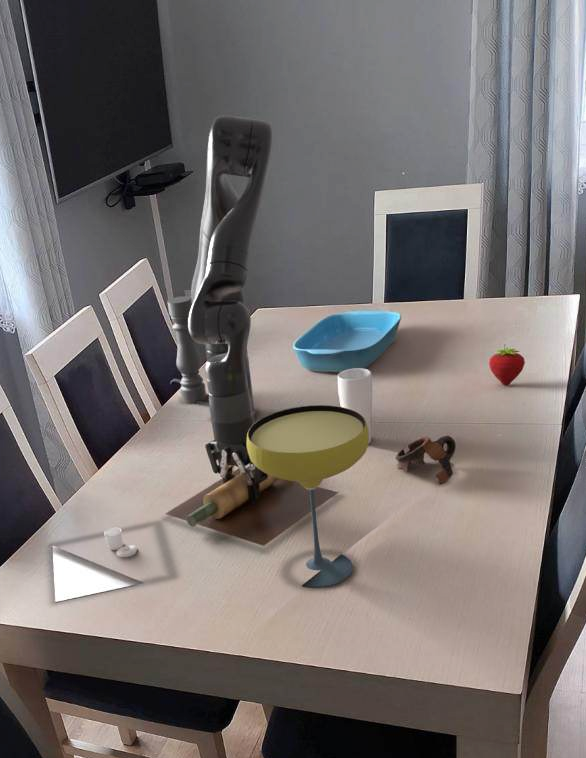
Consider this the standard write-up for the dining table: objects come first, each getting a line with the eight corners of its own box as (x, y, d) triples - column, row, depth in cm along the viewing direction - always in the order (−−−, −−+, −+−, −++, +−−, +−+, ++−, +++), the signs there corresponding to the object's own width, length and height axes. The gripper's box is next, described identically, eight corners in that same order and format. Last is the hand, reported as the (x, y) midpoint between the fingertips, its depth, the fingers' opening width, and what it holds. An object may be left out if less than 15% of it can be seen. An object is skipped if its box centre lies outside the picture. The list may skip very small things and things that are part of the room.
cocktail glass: (265, 545, 151) (248, 411, 139) (371, 537, 148) (363, 399, 135) (261, 604, 135) (242, 459, 123) (380, 597, 132) (372, 447, 120)
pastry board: (166, 519, 165) (165, 513, 164) (241, 472, 177) (240, 467, 177) (264, 551, 149) (263, 545, 148) (338, 497, 162) (338, 491, 161)
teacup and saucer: (142, 559, 153) (138, 539, 151) (97, 568, 152) (93, 549, 150) (136, 536, 161) (132, 517, 159) (94, 545, 160) (89, 526, 158)
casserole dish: (333, 332, 248) (331, 307, 244) (411, 332, 237) (410, 306, 233) (283, 379, 221) (280, 351, 217) (368, 381, 210) (367, 353, 206)
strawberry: (520, 391, 191) (522, 347, 186) (485, 389, 195) (486, 346, 190) (526, 381, 195) (528, 338, 190) (492, 380, 199) (493, 337, 194)
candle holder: (178, 403, 217) (162, 304, 205) (187, 394, 222) (172, 296, 210) (201, 403, 215) (186, 303, 202) (210, 394, 219) (196, 295, 207)
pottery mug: (434, 494, 158) (410, 456, 157) (404, 498, 167) (381, 463, 166) (477, 456, 162) (454, 419, 160) (445, 462, 171) (423, 428, 169)
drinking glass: (374, 448, 178) (371, 378, 170) (340, 450, 179) (336, 381, 172) (375, 434, 183) (371, 366, 176) (342, 436, 185) (338, 369, 178)
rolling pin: (182, 529, 157) (178, 505, 155) (279, 467, 173) (276, 445, 171) (203, 536, 154) (199, 512, 152) (299, 472, 170) (296, 449, 168)
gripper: (276, 411, 153) (285, 497, 161) (215, 400, 162) (227, 481, 170) (248, 427, 148) (259, 514, 157) (188, 414, 158) (201, 497, 166)
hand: (242, 496), depth 163 cm, fingers closed on rolling pin, 5 cm apart
